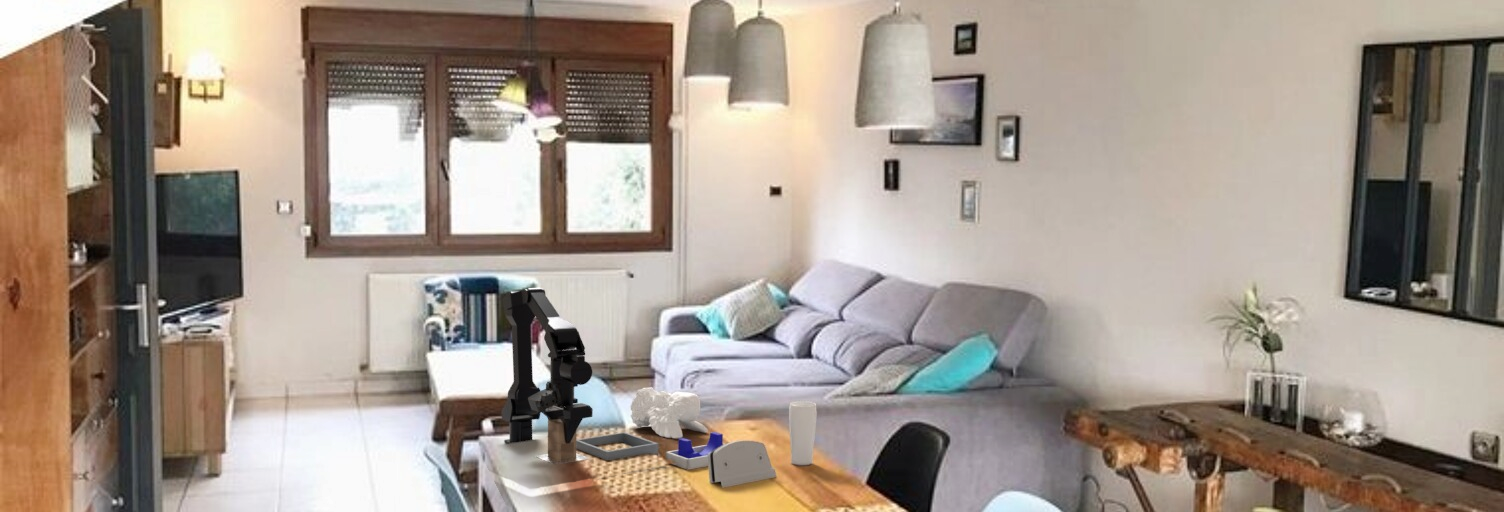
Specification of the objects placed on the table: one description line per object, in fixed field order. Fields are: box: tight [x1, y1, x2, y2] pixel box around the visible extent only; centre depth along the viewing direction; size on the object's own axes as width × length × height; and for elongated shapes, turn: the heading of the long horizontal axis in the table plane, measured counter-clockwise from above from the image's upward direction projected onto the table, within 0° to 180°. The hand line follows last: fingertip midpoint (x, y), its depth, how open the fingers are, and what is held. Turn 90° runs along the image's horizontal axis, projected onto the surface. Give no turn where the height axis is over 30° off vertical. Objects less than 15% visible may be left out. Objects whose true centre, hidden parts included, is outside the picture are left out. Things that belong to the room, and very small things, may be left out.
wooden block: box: [547, 419, 577, 461], centre depth 314 cm, size 5×5×9 cm
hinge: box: [707, 439, 777, 488], centre depth 303 cm, size 17×5×10 cm, turn 129°
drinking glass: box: [788, 400, 818, 467], centre depth 318 cm, size 7×7×15 cm
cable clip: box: [677, 431, 724, 459], centre depth 320 cm, size 12×4×6 cm, turn 134°
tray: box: [576, 431, 659, 461], centre depth 323 cm, size 15×15×4 cm
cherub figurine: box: [630, 386, 709, 440], centre depth 350 cm, size 13×12×20 cm
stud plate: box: [533, 452, 591, 465], centre depth 314 cm, size 10×10×5 cm
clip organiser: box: [665, 443, 725, 471], centre depth 319 cm, size 9×17×2 cm, turn 129°
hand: (562, 441), depth 314 cm, fingers closed on wooden block, 5 cm apart
